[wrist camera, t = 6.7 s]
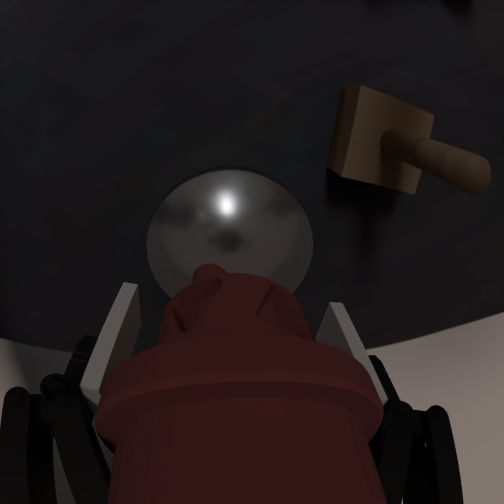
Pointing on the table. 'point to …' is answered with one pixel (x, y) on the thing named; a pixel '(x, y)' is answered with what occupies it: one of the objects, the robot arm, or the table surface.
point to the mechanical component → (239, 405)
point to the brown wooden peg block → (397, 145)
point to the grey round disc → (229, 229)
